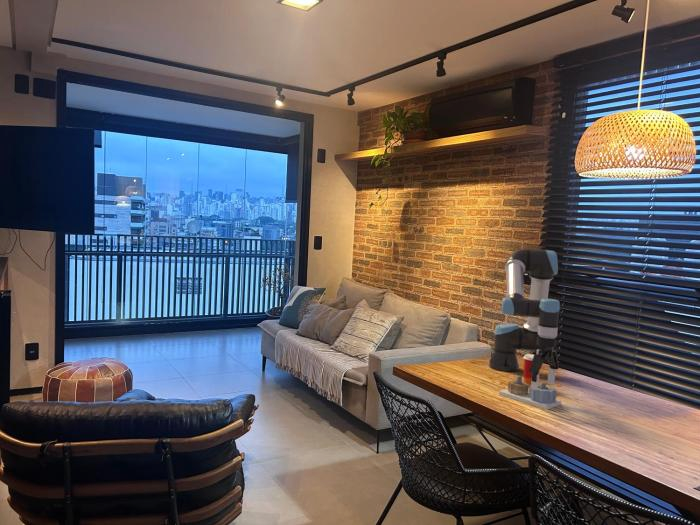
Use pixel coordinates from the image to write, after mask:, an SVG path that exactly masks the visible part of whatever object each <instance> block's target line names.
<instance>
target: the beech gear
mask: <svg viewBox="0 0 700 525" xmlns="http://www.w3.org/2000/svg"><path fill="white" fill-rule="evenodd" d="M507 389H508V391H509V393H513V394H515V395H525V394H527V395H528V391H529V385H528V383H524V381H522V384H521V385H520V384H516V380H510V381H508V384H507Z"/></svg>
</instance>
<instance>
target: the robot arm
mask: <svg viewBox="0 0 700 525" xmlns="http://www.w3.org/2000/svg"><path fill="white" fill-rule="evenodd" d="M504 271H505V273H506V297H503V298H502V299H501V300H502V301H501V313H502V314H503V315H507V316H515V317H517V316H518V317H525V318H526V317H527V318H526V322H525V323H524V324H523V327H521V326H520V325H519V324H518V323H511V322H510V323H508V322H507V323H500V324H497V325H496V326H495V330H494V339H493V340H494V341H493V352H492V355H491V356H490V359H489V362H488V367H490V368H491V369H493V370H497V371H500V372H519V370H520V364H519V361H518V356H517V351H527V352H534V354H533V355H534V357H533V360H532V363H531V366H530V369H529V372H530V373H532V381H531V389H534V390H538V385H540V374H539V373H540V370H541V368H542V366H543V364H544V362H546V361H547V363H548V366H549V367H548V369H547V370H548V372H547V383H546V384H549V385H551V386H554V385H555V380H556V371H557V370H559V366H560V365H559V364H560V363H559V359H558V358H559V357H558V354H557V353H558V352H557V351H558V350H557V349H558V347H557V340H558V339H557V337H558V330H559V328H558V326H559V316H560V315H559V314H560V310H561V308H560V301H559V300H558V299H555V298H554V299H553V298H548V297H549V291H550V282H551V281H552V280H553V279H554V278H555V276H556V275H558V274H559V273H558V272H559V263H558V255H557V253H556V251H554V250H548V249H537V248H535V249H532V248H520V249H518V250H515V251H513V252H512V253H511V254H510V255H509V256H508V257H507V258H506V261H505V263H504ZM524 273H528V276H529V278H530V280H531V281H530V291H529V292H530V293H529V299H528V298H525V284H524V283H525V280H524Z"/></svg>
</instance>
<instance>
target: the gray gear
mask: <svg viewBox="0 0 700 525" xmlns="http://www.w3.org/2000/svg"><path fill="white" fill-rule="evenodd" d="M528 391H529V398H531V399H530V400H532V401H537V402H539V403H548V404H552V402H556V399H557V392H558V391H557V389H555V387H553V386H548V385H546V389H540V384H538V390H534V389H531V385H530V387H529V389H528Z"/></svg>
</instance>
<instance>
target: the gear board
mask: <svg viewBox="0 0 700 525" xmlns="http://www.w3.org/2000/svg"><path fill="white" fill-rule="evenodd" d="M515 381H516V384H520V385H521V384H522V382H523V376H521V375H516V376H515ZM539 385H540V389H546V386H547V383H546V382H542V381H539ZM498 395H500V396H501V397H502V396H503V397H506V398H508V399H511V400H515V401H518V402H521V403H524V404H527V405H530V406H531V405H532V406H534V407H537V408H541V409H544V410H545V411H547V410H550V409H553V408H555V407H558V406H560V405H562V400H559V399H557V398H556V402H552V404H548V403H539V402H537V401H532V400H530V399H531V398H529V390H528V395H527V394H525V395H515V394H513V393H509V391H508V388H506V389H501V390H499V391H498Z"/></svg>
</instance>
